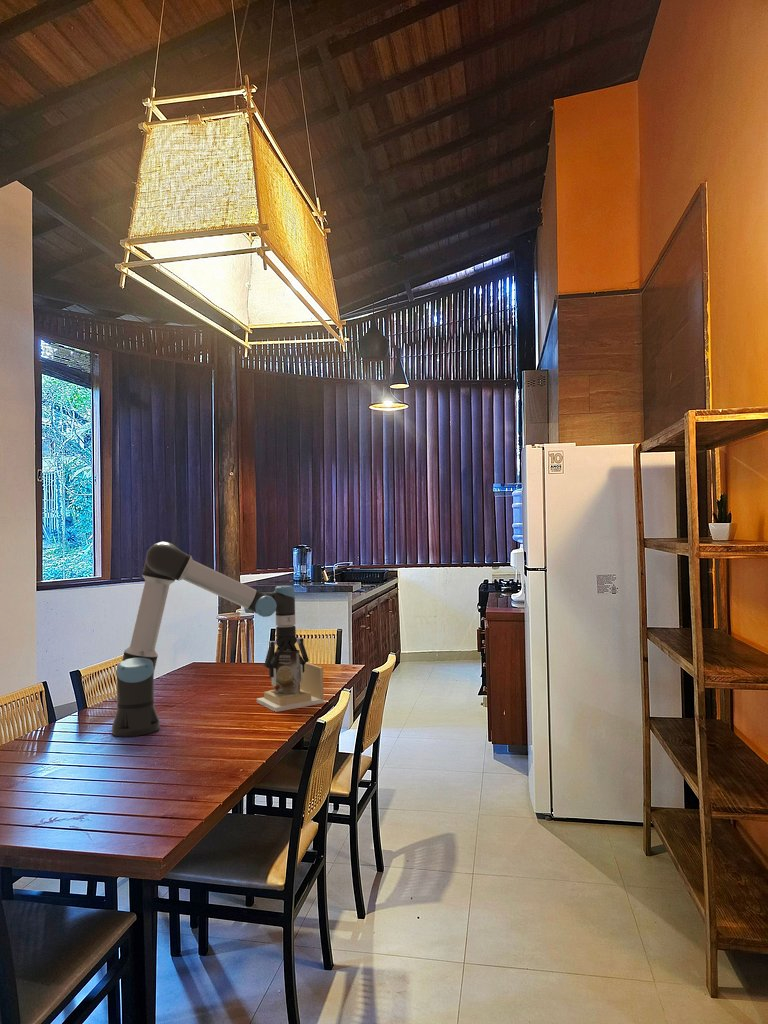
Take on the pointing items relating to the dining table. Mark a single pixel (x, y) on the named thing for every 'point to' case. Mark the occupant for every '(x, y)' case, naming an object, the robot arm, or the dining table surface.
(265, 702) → the display stand
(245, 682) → the dining table surface
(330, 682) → the dining table surface
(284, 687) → the coffee box
